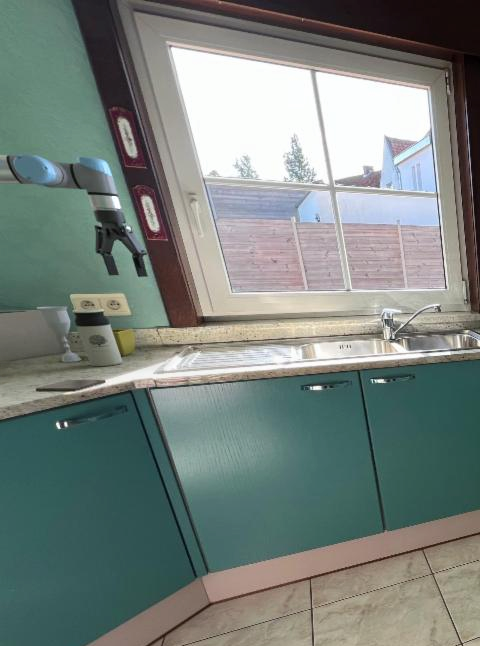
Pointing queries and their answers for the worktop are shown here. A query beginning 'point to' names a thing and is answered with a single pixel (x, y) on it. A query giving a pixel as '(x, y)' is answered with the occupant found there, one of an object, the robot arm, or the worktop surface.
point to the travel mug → (97, 337)
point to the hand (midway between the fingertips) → (128, 276)
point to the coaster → (70, 385)
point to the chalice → (59, 327)
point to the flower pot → (124, 340)
